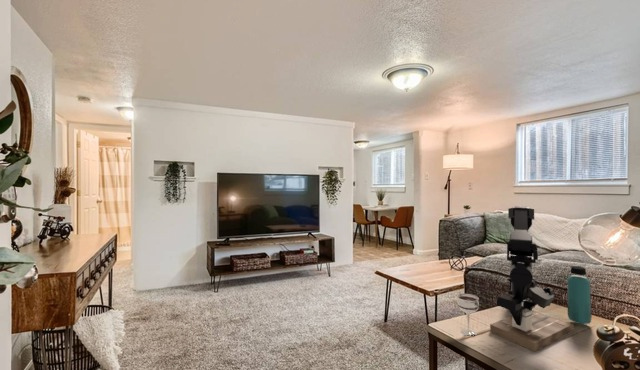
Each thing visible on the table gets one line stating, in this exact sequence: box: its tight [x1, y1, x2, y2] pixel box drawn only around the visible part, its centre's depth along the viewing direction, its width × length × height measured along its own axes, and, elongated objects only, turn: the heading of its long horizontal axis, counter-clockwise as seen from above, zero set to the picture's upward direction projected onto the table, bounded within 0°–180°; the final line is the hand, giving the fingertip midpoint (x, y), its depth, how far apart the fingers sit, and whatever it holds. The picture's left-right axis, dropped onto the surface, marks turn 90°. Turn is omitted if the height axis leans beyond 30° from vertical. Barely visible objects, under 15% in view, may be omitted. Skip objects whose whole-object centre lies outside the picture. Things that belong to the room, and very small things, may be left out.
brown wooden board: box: [489, 309, 574, 352], centre depth 106 cm, size 23×14×3 cm, turn 118°
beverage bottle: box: [566, 265, 593, 325], centre depth 110 cm, size 6×7×20 cm
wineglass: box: [456, 293, 480, 337], centre depth 106 cm, size 7×7×12 cm
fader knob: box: [512, 309, 533, 331], centre depth 103 cm, size 4×4×6 cm
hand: (522, 323), depth 103 cm, fingers closed on fader knob, 3 cm apart
